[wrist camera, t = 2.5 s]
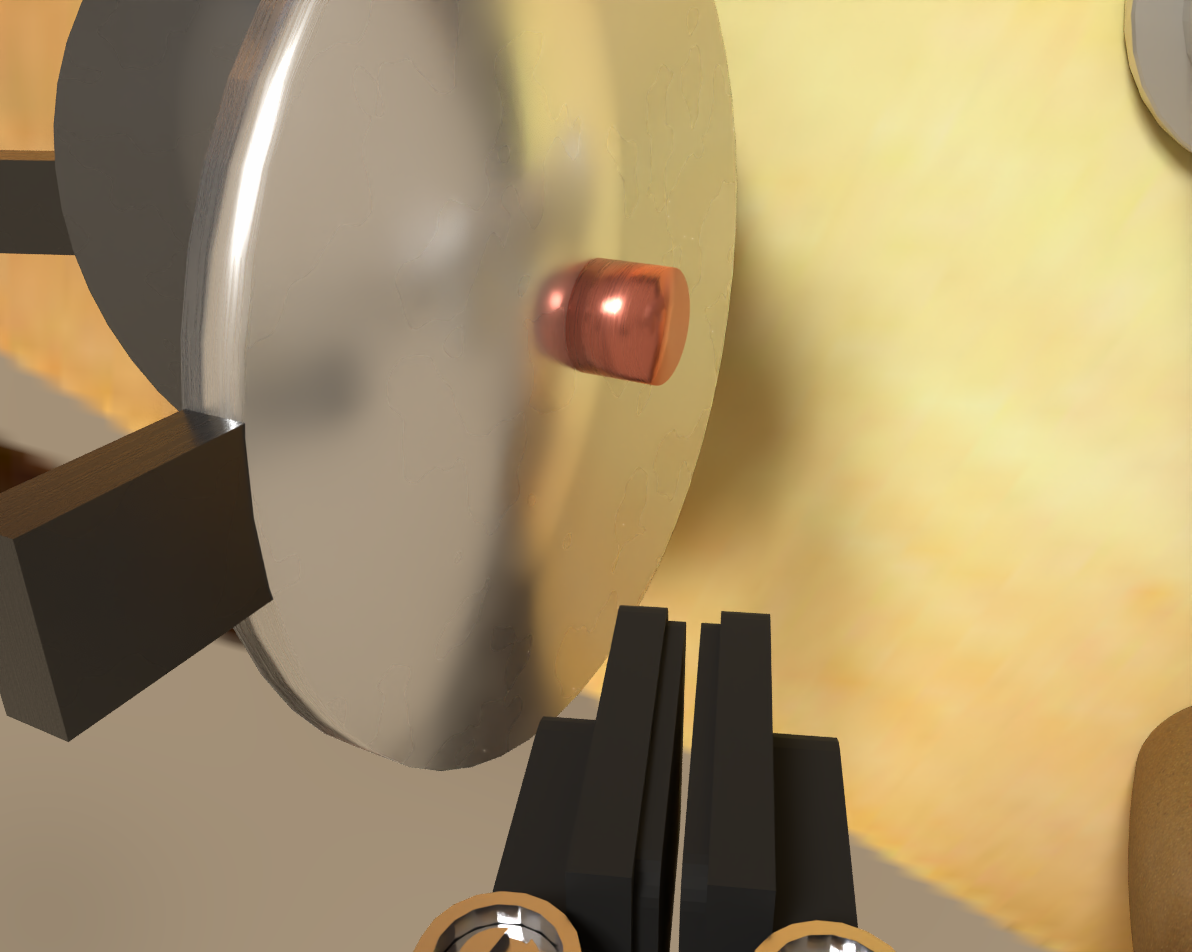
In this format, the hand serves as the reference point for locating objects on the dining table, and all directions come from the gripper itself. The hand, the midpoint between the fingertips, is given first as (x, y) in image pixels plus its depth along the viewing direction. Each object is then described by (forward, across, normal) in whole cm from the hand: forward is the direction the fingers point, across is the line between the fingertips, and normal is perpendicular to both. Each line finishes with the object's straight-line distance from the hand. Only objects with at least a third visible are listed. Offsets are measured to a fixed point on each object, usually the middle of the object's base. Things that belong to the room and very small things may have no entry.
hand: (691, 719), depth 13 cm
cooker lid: (+12, +5, 0) cm, 13 cm away
